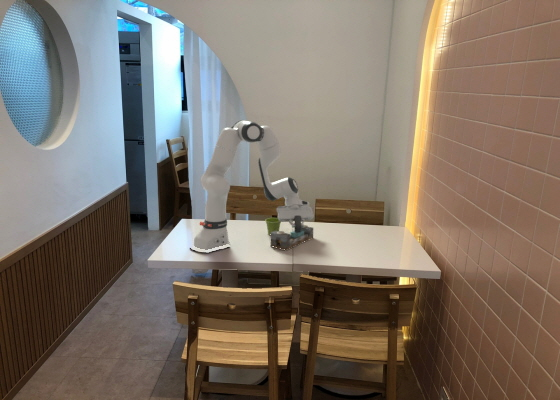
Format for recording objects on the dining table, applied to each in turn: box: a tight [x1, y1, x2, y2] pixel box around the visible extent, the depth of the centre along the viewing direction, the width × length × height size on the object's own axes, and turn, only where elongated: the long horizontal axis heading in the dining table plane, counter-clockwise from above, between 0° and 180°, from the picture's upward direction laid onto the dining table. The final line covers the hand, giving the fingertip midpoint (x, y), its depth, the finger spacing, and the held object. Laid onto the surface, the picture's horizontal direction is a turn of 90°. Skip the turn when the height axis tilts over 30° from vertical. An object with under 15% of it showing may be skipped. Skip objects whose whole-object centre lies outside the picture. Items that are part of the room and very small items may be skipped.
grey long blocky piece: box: [270, 224, 314, 251], centre depth 253 cm, size 27×10×9 cm, turn 144°
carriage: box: [290, 215, 304, 238], centre depth 256 cm, size 6×5×12 cm
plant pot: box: [265, 217, 282, 235], centre depth 266 cm, size 9×9×9 cm
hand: (298, 226), depth 255 cm, fingers closed on carriage, 4 cm apart
